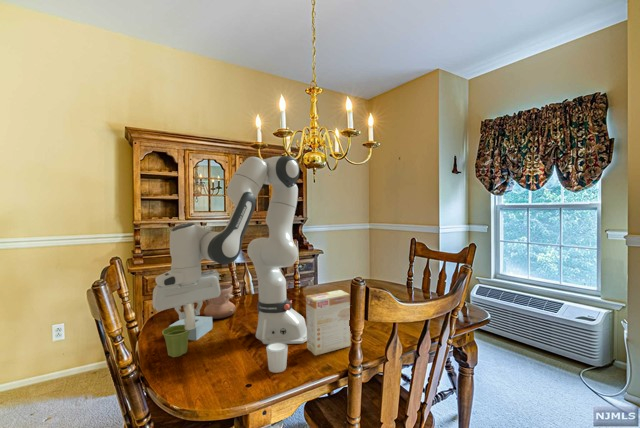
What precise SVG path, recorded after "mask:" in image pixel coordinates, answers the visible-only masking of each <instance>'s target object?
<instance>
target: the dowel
mask: <svg viewBox="0 0 640 428" xmlns="http://www.w3.org/2000/svg"><path fill="white" fill-rule="evenodd" d="M182 306H183V312H184V313H185V319H184V322H185V330H192V329H194V328H196V325H195V309H196V308H195V303H190V304H187V305H182Z"/></svg>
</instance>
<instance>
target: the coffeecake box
mask: <svg viewBox="0 0 640 428" xmlns="http://www.w3.org/2000/svg"><path fill="white" fill-rule="evenodd" d="M350 296H351V295H350V293H348V292H346V291H344V290H342V289H337V290H331V291H326V292H322V293H321V292H320V293H315V294H309V295H308V294H307V295H305V303H306V304H305V309H306V311H305V313H306V314H305V315H306V316H305V317H306V318H305V320H306V327H307V341H306V348H307V350H308V351H309V352H311V353H312V354H313V355H314V356H320V355H322V354H326V353H330V352H334V351H336V350H340V349H345V348H349V347H352V346H351V331H350V326H349V320H350V306H351V305H350V304H351V299H350Z"/></svg>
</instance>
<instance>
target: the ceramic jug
mask: <svg viewBox="0 0 640 428" xmlns="http://www.w3.org/2000/svg"><path fill="white" fill-rule="evenodd" d="M219 285H220V292H221V293H220V295H219V297H216V298H212V299H208V300H204V302H205V305H206V306H205V307H204V309H203V314H204V317H212V320H220V319H225V318H227V317H231V316H232V315H233V314H234V313H235V312H236V309H237V307H236V305H235V304H234V303H233V302H231V301H230V299H233V297H234V294H232V292H233V287H234V286H233V285H232V284H230V283H229V284H227V283H226V284H224V283H219Z"/></svg>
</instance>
